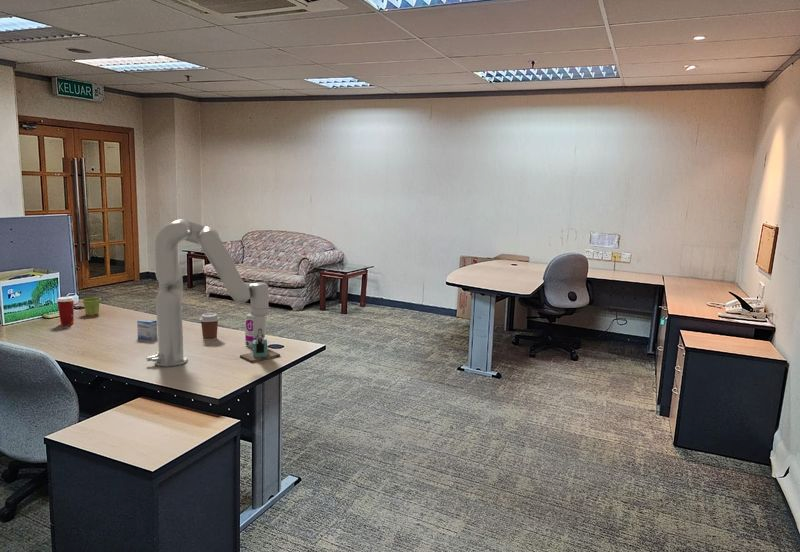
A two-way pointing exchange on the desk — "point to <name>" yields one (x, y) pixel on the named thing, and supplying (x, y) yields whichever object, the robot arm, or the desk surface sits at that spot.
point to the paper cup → (66, 310)
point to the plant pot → (91, 305)
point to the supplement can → (249, 330)
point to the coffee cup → (209, 326)
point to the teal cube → (260, 353)
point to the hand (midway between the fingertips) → (260, 349)
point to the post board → (252, 359)
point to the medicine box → (147, 329)
